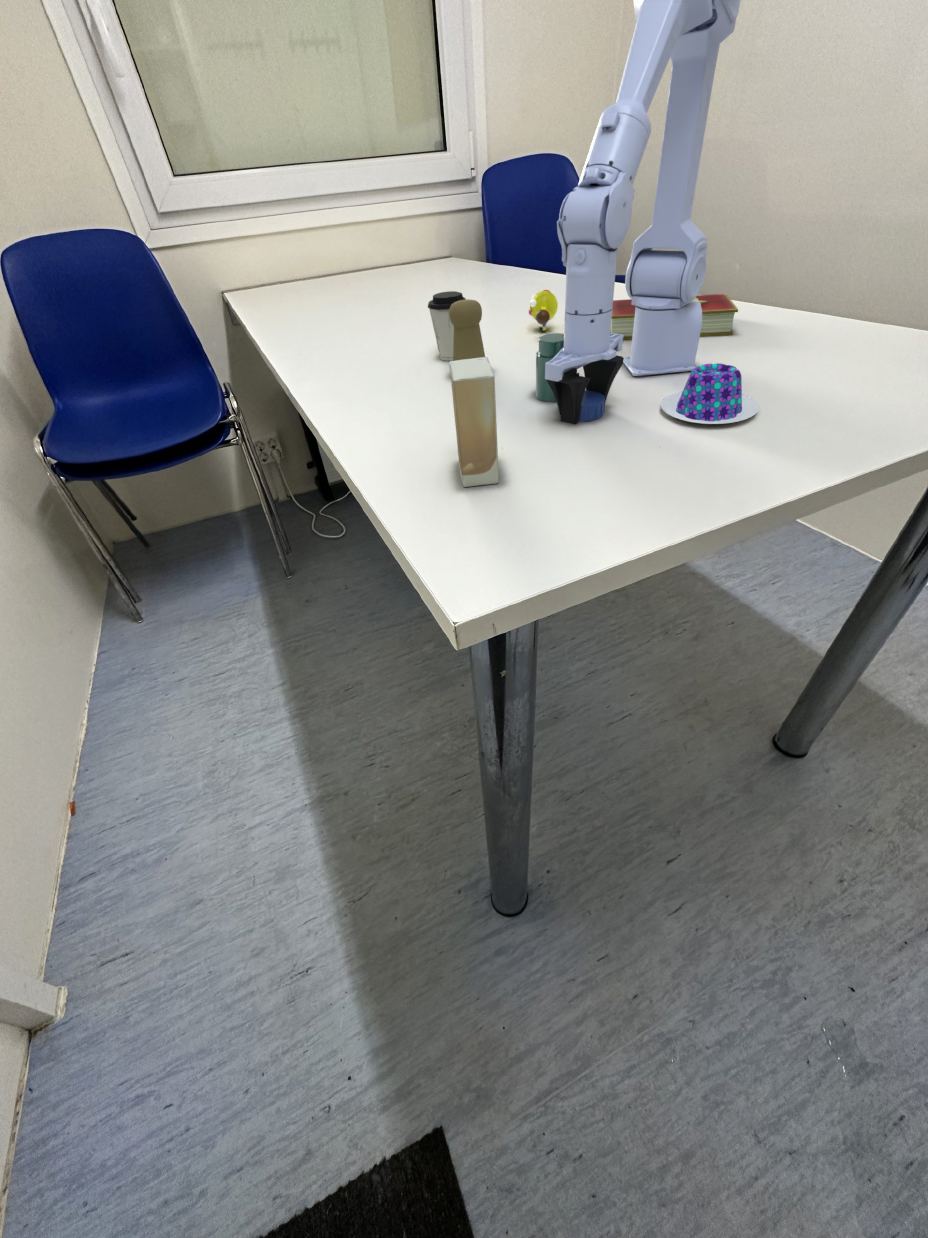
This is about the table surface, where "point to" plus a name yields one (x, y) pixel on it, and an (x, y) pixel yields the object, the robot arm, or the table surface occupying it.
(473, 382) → the cosmetic box
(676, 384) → the table surface
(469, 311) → the cork
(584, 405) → the lid
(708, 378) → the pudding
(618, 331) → the hardcover book
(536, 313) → the toy figure
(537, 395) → the jar
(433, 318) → the coffee cup
